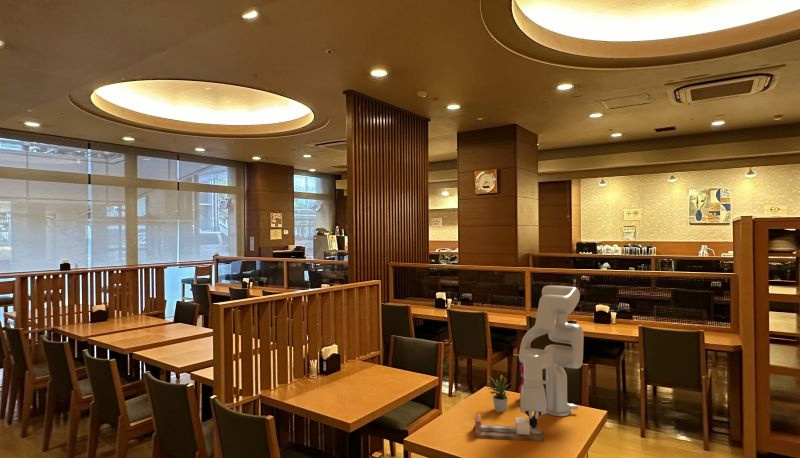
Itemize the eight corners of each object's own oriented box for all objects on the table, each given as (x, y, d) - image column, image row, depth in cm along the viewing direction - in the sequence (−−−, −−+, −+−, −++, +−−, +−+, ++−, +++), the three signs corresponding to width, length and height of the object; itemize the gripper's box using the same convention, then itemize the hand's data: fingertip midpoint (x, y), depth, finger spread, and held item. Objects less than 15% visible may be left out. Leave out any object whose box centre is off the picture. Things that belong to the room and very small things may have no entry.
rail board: (539, 430, 195) (539, 416, 195) (544, 441, 185) (544, 425, 185) (474, 427, 198) (473, 413, 198) (475, 437, 188) (475, 422, 188)
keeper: (526, 428, 194) (526, 417, 194) (529, 435, 187) (529, 424, 187) (515, 427, 195) (515, 417, 195) (517, 434, 188) (517, 423, 188)
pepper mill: (534, 403, 227) (533, 363, 228) (519, 402, 229) (519, 362, 229) (532, 398, 234) (532, 359, 235) (518, 397, 236) (518, 358, 236)
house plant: (484, 402, 228) (484, 370, 228) (512, 404, 225) (512, 371, 225) (484, 413, 214) (484, 378, 214) (514, 415, 211) (514, 380, 211)
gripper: (549, 381, 194) (549, 424, 193) (513, 379, 195) (513, 422, 195) (553, 386, 186) (553, 431, 186) (516, 385, 188) (516, 429, 187)
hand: (533, 426), depth 190 cm, fingers closed
